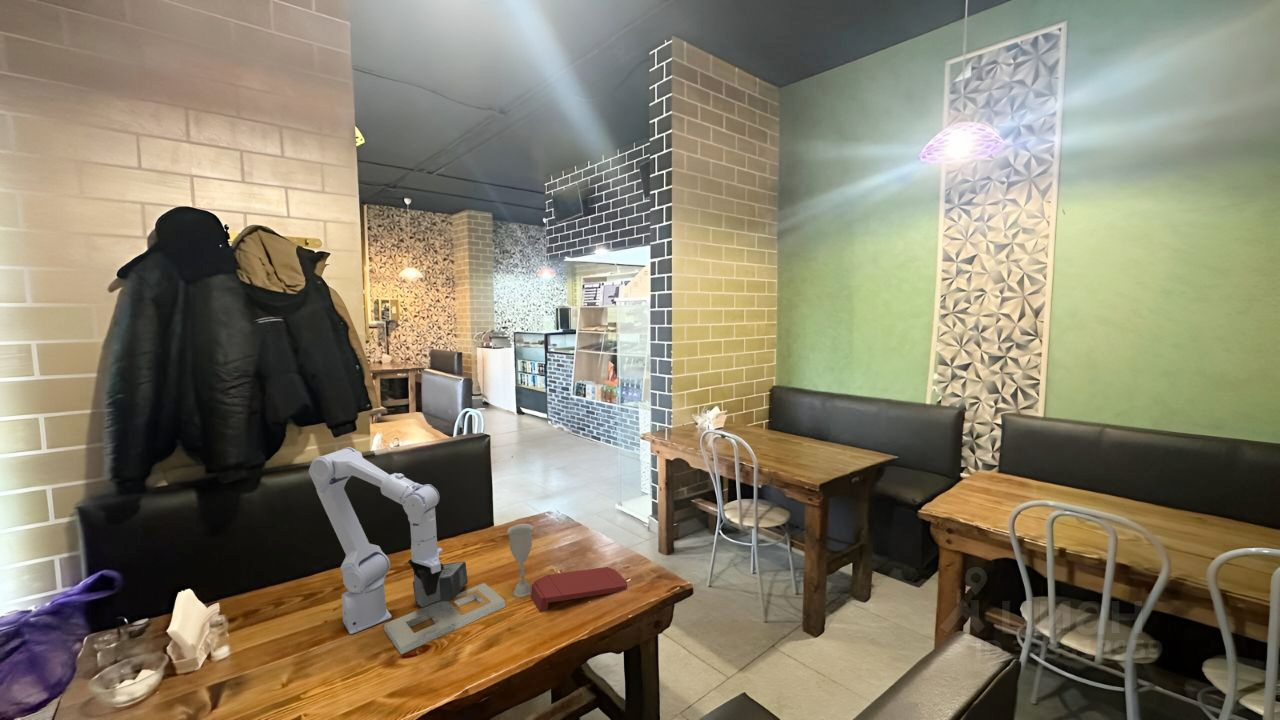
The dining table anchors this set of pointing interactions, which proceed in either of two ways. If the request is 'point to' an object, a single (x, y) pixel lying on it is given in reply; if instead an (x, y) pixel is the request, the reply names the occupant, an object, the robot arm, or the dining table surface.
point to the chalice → (521, 553)
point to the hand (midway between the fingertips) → (427, 589)
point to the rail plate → (442, 617)
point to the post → (420, 592)
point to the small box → (451, 580)
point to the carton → (575, 585)
